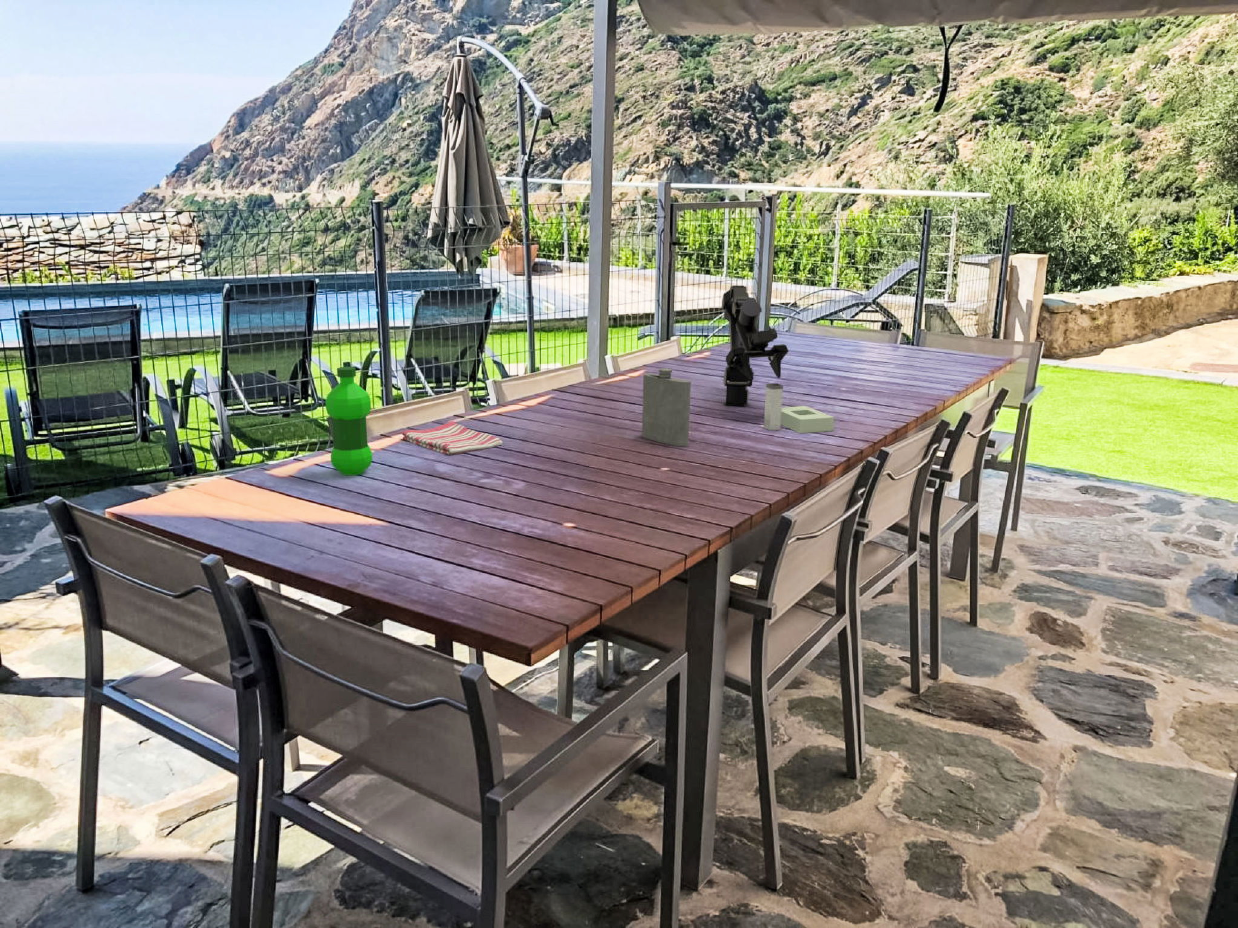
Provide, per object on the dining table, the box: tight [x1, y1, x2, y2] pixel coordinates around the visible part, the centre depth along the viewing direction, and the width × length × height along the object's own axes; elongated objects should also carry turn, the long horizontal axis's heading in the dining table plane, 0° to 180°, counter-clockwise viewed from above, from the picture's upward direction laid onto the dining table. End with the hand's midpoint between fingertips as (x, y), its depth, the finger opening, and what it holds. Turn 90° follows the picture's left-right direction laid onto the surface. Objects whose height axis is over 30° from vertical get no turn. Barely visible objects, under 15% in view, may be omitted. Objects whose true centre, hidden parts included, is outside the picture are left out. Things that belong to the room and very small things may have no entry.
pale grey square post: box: [763, 383, 784, 431], centre depth 275 cm, size 4×4×13 cm
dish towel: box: [401, 420, 503, 456], centre depth 255 cm, size 17×23×4 cm
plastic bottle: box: [325, 366, 373, 476], centre depth 224 cm, size 10×10×25 cm
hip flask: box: [641, 367, 692, 447], centre depth 259 cm, size 16×4×20 cm, turn 46°
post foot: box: [781, 405, 835, 434], centre depth 281 cm, size 16×11×4 cm
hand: (766, 378), depth 281 cm, fingers open, 9 cm apart
